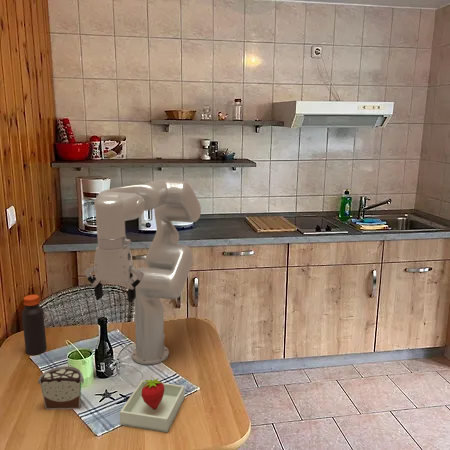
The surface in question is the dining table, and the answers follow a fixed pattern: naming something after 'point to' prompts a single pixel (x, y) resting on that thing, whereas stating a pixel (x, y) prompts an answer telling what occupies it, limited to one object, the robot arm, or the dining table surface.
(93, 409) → the dining table surface
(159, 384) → the strawberry
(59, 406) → the food container
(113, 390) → the dining table surface
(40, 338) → the bottle
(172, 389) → the serving tray
